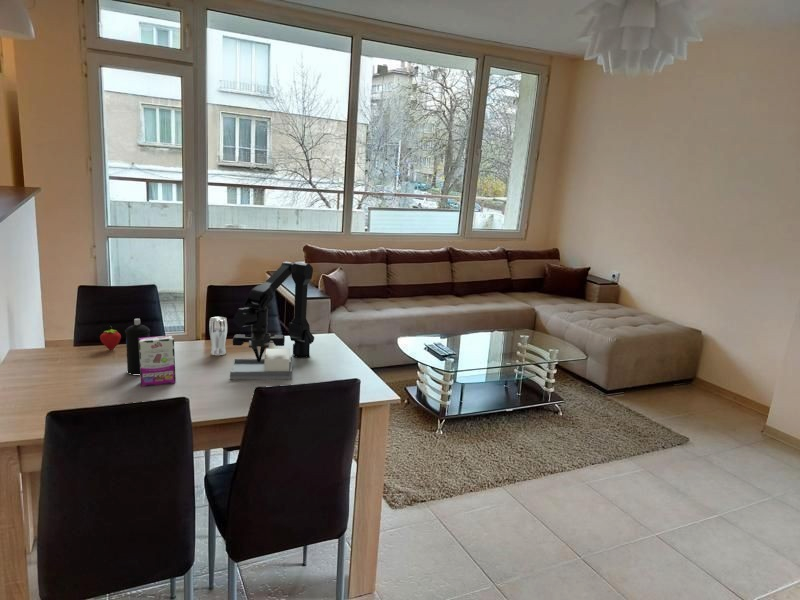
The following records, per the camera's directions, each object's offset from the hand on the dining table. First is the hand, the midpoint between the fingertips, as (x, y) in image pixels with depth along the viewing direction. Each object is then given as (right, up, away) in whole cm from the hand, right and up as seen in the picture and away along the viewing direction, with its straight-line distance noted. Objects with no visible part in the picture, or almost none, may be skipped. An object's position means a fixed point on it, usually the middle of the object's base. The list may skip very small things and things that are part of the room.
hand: (258, 361), depth 203 cm
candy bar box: (-31, -6, -16) cm, 36 cm away
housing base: (+1, -4, +1) cm, 4 cm away
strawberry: (-64, +3, +14) cm, 65 cm away
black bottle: (-42, -3, -7) cm, 43 cm away
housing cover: (+7, -3, +2) cm, 7 cm away
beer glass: (-22, +1, +18) cm, 28 cm away
